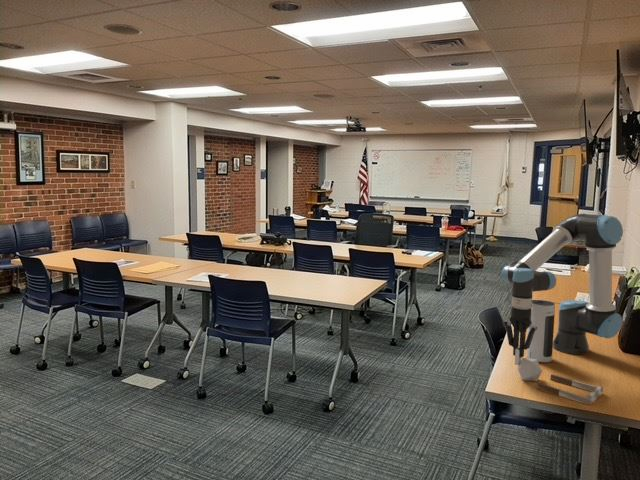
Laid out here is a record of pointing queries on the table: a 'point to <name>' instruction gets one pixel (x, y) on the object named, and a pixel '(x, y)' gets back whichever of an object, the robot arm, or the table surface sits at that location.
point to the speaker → (542, 331)
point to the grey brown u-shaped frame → (589, 400)
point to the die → (529, 369)
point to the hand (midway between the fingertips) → (517, 364)
